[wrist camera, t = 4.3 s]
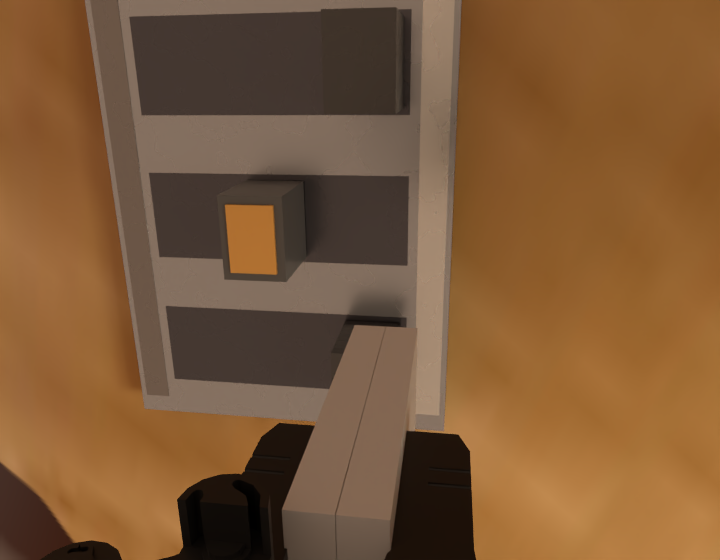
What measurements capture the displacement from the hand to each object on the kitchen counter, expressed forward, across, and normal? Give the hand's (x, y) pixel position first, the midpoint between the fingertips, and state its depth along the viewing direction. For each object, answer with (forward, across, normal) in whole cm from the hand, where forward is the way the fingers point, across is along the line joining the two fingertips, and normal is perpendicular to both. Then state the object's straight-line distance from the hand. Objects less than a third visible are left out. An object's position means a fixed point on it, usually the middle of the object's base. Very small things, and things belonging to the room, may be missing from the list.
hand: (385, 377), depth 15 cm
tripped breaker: (+16, -7, 0) cm, 18 cm away
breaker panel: (+18, -7, 0) cm, 20 cm away
